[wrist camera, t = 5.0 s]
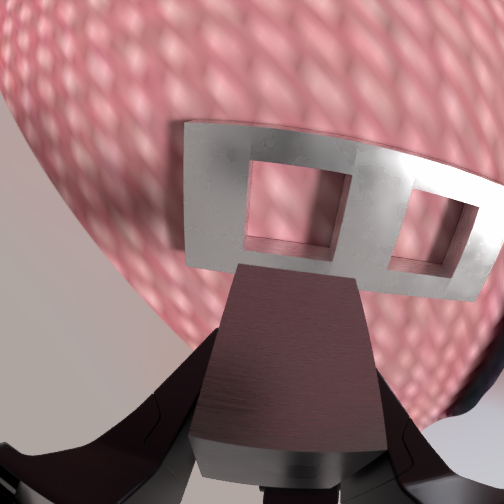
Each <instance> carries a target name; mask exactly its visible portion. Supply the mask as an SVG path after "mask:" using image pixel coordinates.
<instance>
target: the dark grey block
mask: <svg viewBox="0 0 504 504" xmlns="http://www.w3.org/2000/svg"><path fill="white" fill-rule="evenodd" d="M188 438H189V441H190V444H191V447H192V450H193V452H194V455H195V458H196V461H197V464H198V466H199V469H200V472H201V475H202V477H206V478H211V479H216V480H222V481H229V482H234V483H241V484H249V485H258V486H268V487H281V488H307V489H323V488H332V487H333V486H335V485H337V484H338V483H340V482H342V481H343V480H345V479H346V478H348V477H349V476H351V475H353V474H354V473H356V472H357V471H359V470H360V469H362V468H363V467H365V466H366V465H367V464H369V463H370V462H372V461H373V460H374V459H376V458H377V457H379V456H380V455H381V454H383V453H384V452H385V451H386V450H387V440H386V432H385V424H384V416H383V409H382V402H381V396H380V389H379V383H378V378H377V372H376V367H375V361H374V356H373V351H372V346H371V342H370V337H369V332H368V328H367V323H366V319H365V315H364V310H363V306H362V302H361V298H360V294H359V290H358V286H357V283H356V279H355V278H348V277H340V276H332V275H324V274H316V273H308V272H301V271H293V270H285V269H278V268H270V267H262V266H255V265H248V264H240V263H238V265H237V269H236V272H235V275H234V279H233V282H232V285H231V289H230V292H229V295H228V299H227V302H226V305H225V309H224V312H223V316H222V319H221V322H220V326H219V329H218V333H217V336H216V339H215V343H214V346H213V350H212V353H211V357H210V360H209V364H208V367H207V370H206V374H205V377H204V381H203V384H202V388H201V391H200V395H199V398H198V402H197V405H196V409H195V412H194V416H193V419H192V423H191V426H190V430H189V433H188Z"/></svg>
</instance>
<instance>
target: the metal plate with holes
mask: <svg viewBox="0 0 504 504" xmlns="http://www.w3.org/2000/svg"><path fill="white" fill-rule="evenodd" d="M253 160H255V161H263V162H272V163H280V164H287V165H295V166H302V167H308V168H315V169H321V170H327V171H333V172H339V173H344V174H345V178H344V183H343V188H342V193H341V198H340V203H339V207H338V212H337V217H336V221H335V226H334V230H333V234H332V239H331V243H330V247H324V246H317V245H310V244H303V243H296V242H289V241H281V240H274V239H267V238H259V237H252V236H247V230H248V218H249V206H250V194H251V182H252V171H253ZM412 188H414V189H418V190H422V191H426V192H430V193H434V194H437V195H441V196H445V197H448V198H452V199H455V200H458V201H462V202H465V204H464V207H463V211H462V214H461V217H460V219H459V222H458V225H457V228H456V231H455V233H454V236H453V239H452V241H451V244H450V246H449V249H448V251H447V254H446V256H445V259H444V261H443V263H442V264H436V263H430V262H424V261H417V260H411V259H405V258H398V257H392V253H393V250H394V247H395V244H396V241H397V238H398V235H399V232H400V229H401V225H402V222H403V219H404V216H405V212H406V209H407V205H408V202H409V198H410V194H411V191H412ZM183 195H184V236H185V260H186V266H187V267H194V268H200V269H207V270H214V271H220V272H227V273H234V274H235V272H236V269H237V265H238V263H240V264H248V265H255V266H262V267H270V268H278V269H285V270H293V271H301V272H308V273H316V274H324V275H332V276H340V277H348V278H355V279H356V283H357V286H358V290H363V291H371V292H380V293H389V294H398V295H407V296H417V297H427V298H437V299H447V300H458V301H469V302H475V300H476V298H477V296H478V294H479V293H480V291H481V289H482V287H483V285H484V283H485V281H486V279H487V277H488V275H489V273H490V271H491V269H492V267H493V265H494V262H495V260H496V258H497V256H498V253H499V251H500V249H501V246H502V244H503V242H504V184H502V183H499V182H497V181H495V180H492V179H490V178H487V177H485V176H482V175H480V174H477V173H475V172H472V171H469V170H467V169H464V168H461V167H458V166H455V165H452V164H450V163H447V162H444V161H441V160H437V159H434V158H431V157H428V156H424V155H421V154H418V153H414V152H411V151H407V150H403V149H400V148H396V147H392V146H388V145H384V144H380V143H376V142H371V141H367V140H362V139H358V138H353V137H348V136H343V135H338V134H332V133H326V132H321V131H314V130H308V129H301V128H294V127H287V126H279V125H270V124H260V123H249V122H237V121H221V120H196V119H195V120H191V121H188V122H184V157H183Z"/></svg>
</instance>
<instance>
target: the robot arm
mask: <svg viewBox="0 0 504 504" xmlns="http://www.w3.org/2000/svg"><path fill="white" fill-rule="evenodd" d="M218 329H219V328H216V329H215V330H214V331H213V332H212V333H211V334H210V335H209V336H208V337H207V338H206V339H205V340H204V341H203V342H202V343H201V344H200V345H199V346H198V347H197V348H196V350H195V351H194V352H193V353H192V354H191V355H190V356H189V357H188V358H187V359H186V360H185V361H184V362H183V363H182V364H181V365H180V366H179V367H178V368H177V369H176V370H175V371H174V372H173V373H172V375H170V376H169V377H168V378H167V379H166V380H165V381H164V382H163V383H162V384H161V385H160V387H159V388H157V389H156V390H155V392H154V394H151V395H150V396H149V397H148V398H147V399H146V400H145V401H144V402H143V403H142V404H141V405H140V406H139V407H138V408H137V409H136V410H135V411H133V412H132V413H131V414H130V415H128V416H127V417H126V418H125V419H123V420H122V421H121V422H119V423H118V424H117V425H115V426H114V427H113V428H111V429H110V430H108V431H107V432H106V433H104V434H103V435H102V436H100V437H99V438H97V439H96V440H94V441H93V442H91V443H89V444H87V445H84V446H81V447H77V448H73V449H68V450H64V451H58V452H54V453H48V454H43V455H34V456H30V455H24V454H22V453H20V452H19V451H17V450H16V449H15V448H13V447H12V446H11V445H9V444H8V443H6V442H3V443H0V504H180V502H181V500H182V497H183V494H184V491H185V488H186V486H187V483H188V480H189V477H190V474H191V472H192V469H193V466H194V463H195V460H196V458H195V455H194V452H193V450H192V447H191V444H190V441H189V438H188V433H189V430H190V426H191V423H192V419H193V416H194V412H195V409H196V405H197V402H198V398H199V395H200V391H201V388H202V384H203V381H204V377H205V374H206V370H207V367H208V364H209V360H210V357H211V353H212V350H213V346H214V343H215V339H216V336H217V333H218ZM376 372H377V378H378V383H379V389H380V396H381V402H382V409H383V416H384V424H385V432H386V440H387V450H386V451H385V452H384V453H383V454H381V455H380V456H379V457H377V458H376V459H374V460H373V461H372V462H370V463H369V464H367V465H366V466H365V467H363V468H362V469H360V470H359V471H357V472H356V473H354V474H353V475H351V476H349V477H348V478H346V479H345V480H343V481H342V482H340V483H338V484H337V485H335V486H333V487H332V488H323V489H307V488H281V487H268V486H259V489H260V491H262V492H264V496H263V504H338V498H339V491H340V490H341V500H340V503H341V504H504V489H498V488H494V487H491V486H488V485H485V484H482V483H478V482H475V481H473V480H470V479H467V478H464V477H462V476H459V475H458V474H456V473H455V472H453V471H452V470H451V469H450V468H449V467H448V466H447V465H446V463H445V462H444V461H443V460H442V459H441V458H440V456H439V455H438V454H437V453H436V452H435V450H434V449H433V448H432V447H431V445H430V444H429V443H428V442H427V440H426V439H425V438H424V436H423V435H422V434H421V432H420V431H419V429H418V428H417V427H416V425H415V424H414V422H413V421H412V419H411V418H409V415H408V413H407V412H406V410H405V409H404V407H403V406H402V404H401V403H400V402H399V400H398V399H397V397H396V396H395V394H394V393H393V391H392V390H391V388H390V387H389V385H388V384H387V383H386V381H385V380H384V378H383V377H382V375H381V374H380V373H379V371H378V370H377V368H376Z"/></svg>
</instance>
